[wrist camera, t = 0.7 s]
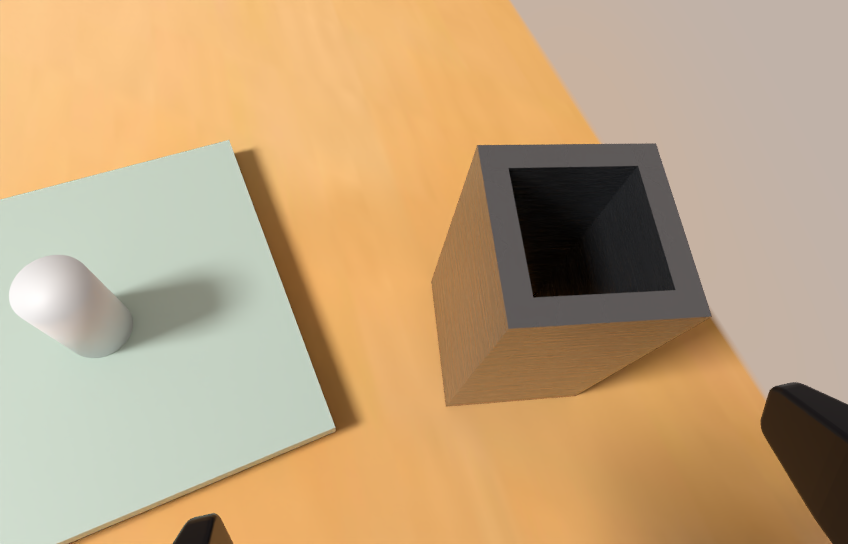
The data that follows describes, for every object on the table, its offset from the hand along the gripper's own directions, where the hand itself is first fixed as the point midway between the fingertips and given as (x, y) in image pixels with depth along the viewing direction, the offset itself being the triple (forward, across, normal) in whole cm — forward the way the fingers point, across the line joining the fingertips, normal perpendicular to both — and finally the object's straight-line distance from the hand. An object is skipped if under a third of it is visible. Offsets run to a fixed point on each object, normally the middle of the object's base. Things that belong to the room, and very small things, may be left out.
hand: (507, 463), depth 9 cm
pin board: (+14, +12, +6) cm, 20 cm away
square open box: (+13, -4, +8) cm, 16 cm away
